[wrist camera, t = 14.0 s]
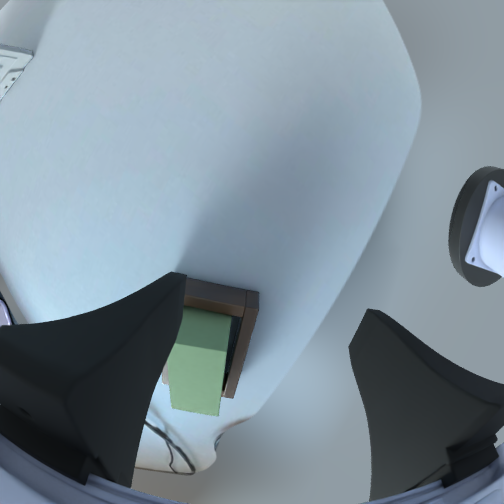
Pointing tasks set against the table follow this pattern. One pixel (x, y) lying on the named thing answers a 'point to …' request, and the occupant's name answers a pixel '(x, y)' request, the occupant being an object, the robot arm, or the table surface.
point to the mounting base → (231, 304)
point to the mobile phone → (4, 314)
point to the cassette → (11, 65)
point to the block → (199, 361)
